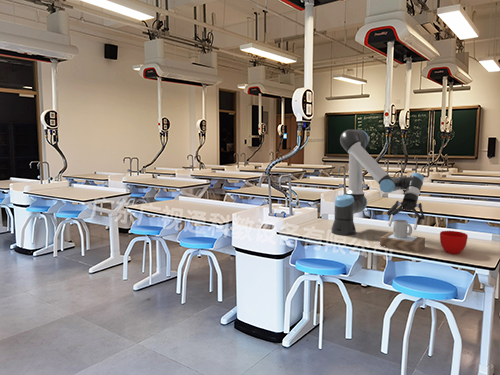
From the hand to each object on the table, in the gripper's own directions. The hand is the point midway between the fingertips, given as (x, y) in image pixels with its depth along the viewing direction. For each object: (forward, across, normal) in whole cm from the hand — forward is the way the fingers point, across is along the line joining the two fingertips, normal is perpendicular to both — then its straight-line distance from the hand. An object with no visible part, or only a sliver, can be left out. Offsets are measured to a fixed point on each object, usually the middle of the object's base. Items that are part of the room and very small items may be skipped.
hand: (401, 227), depth 217 cm
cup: (+3, 0, -6) cm, 7 cm away
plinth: (+7, 0, -10) cm, 12 cm away
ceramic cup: (+2, -23, -14) cm, 27 cm away
